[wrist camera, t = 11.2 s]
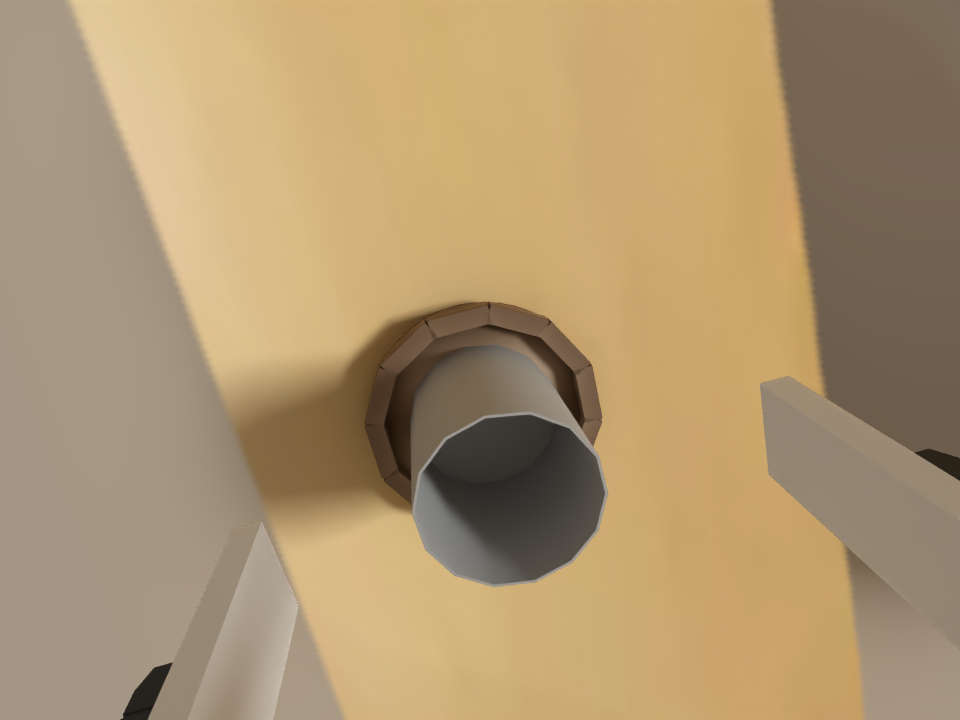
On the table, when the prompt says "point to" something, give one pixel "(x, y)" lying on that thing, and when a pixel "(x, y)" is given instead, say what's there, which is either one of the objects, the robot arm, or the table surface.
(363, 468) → the table surface
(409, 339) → the tray
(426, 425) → the cup
